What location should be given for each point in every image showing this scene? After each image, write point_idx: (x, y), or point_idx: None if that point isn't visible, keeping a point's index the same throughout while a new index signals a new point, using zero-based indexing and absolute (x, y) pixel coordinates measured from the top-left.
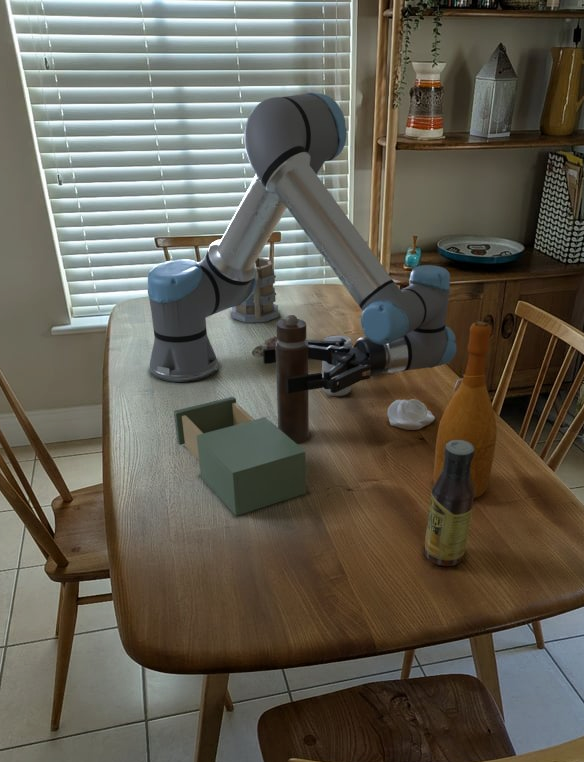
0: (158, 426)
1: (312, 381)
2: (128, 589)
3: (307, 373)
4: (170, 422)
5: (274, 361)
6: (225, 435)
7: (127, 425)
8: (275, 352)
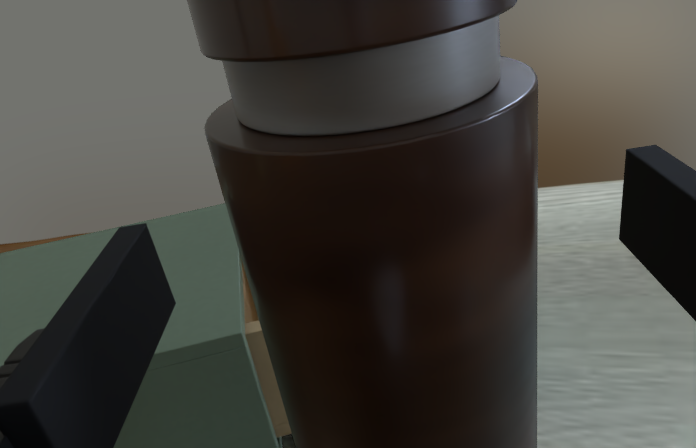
0: (568, 240)
1: (14, 355)
2: (22, 244)
3: (314, 410)
4: (595, 257)
5: (653, 267)
6: (190, 242)
7: (574, 201)
8: (669, 208)
